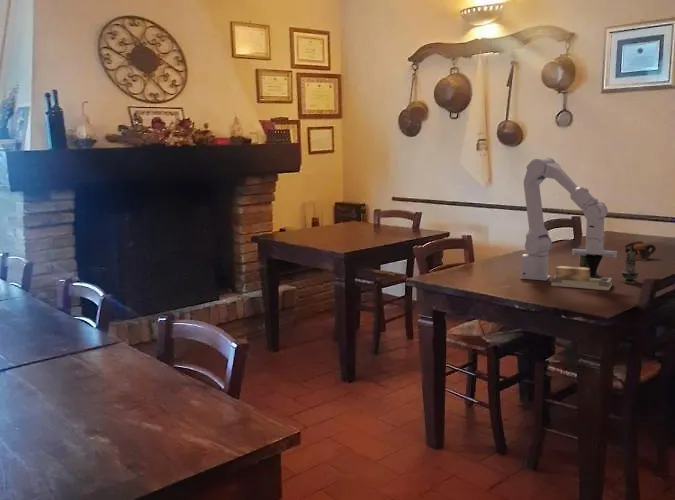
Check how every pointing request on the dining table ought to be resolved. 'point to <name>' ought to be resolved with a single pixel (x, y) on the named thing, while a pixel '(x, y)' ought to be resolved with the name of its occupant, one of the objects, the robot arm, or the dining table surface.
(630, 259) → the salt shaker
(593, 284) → the cream rectangular tray
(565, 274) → the tan wooden block
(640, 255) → the pottery mug
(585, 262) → the supplement container
